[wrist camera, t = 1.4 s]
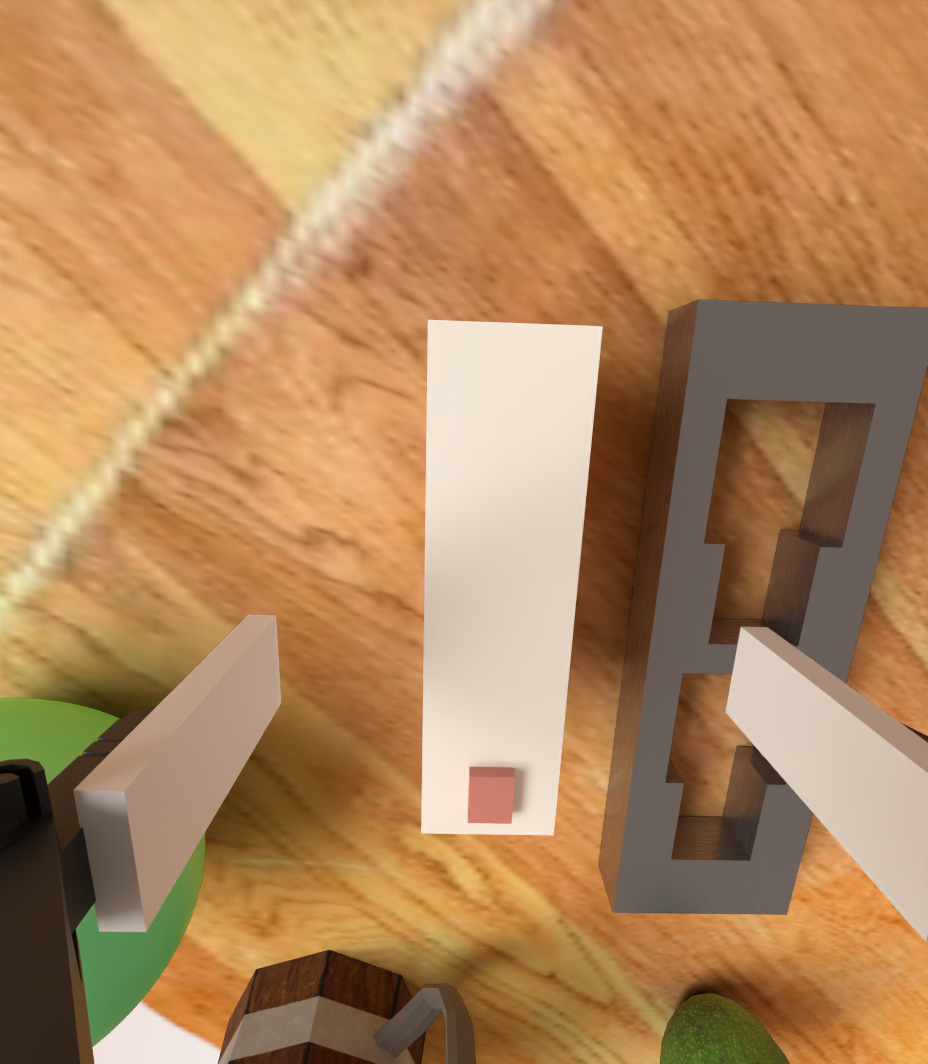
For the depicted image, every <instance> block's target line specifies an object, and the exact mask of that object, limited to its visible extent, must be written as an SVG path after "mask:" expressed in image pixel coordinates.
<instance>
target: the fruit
mask: <svg viewBox="0 0 928 1064" xmlns="http://www.w3.org/2000/svg"><path fill="white" fill-rule="evenodd" d="M660 1064H790V1063H789V1061H788V1060H787V1058H786V1056H785V1054H784V1053H783V1052H782V1050H781V1049H780V1048H779V1046H778V1045H777V1044H776V1042H775V1041H774V1040H773V1039H772V1037H771V1036H770V1035H769V1033H768V1032H767V1031H766V1029H765V1028H764V1027H763V1025H762V1024H761V1023H760V1022H759V1021H758V1020H757V1019H756V1018H755V1017H754V1016H753V1015H752V1014H751V1013H750V1012H749V1011H747V1010H746V1009H745V1008H744V1007H743V1006H741V1005H739V1004H738V1003H736V1002H734V1001H733V1000H731V999H729V998H726V997H723V996H720V995H717V994H714V993H706V994H699V995H693V996H691V997H690V998H689V999H687V1000H686V1001H685V1002H683V1003H682V1004H681V1005H679V1006H678V1007H677V1009H676V1011H675V1012H674V1014H673V1015H672V1017H671V1019H670V1020H669V1022H668V1024H667V1027H666V1030H665V1033H664V1036H663V1039H662V1043H661V1055H660Z"/></svg>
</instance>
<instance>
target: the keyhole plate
mask: <svg viewBox="0 0 928 1064" xmlns="http://www.w3.org/2000/svg"><path fill="white" fill-rule="evenodd" d="M927 366H928V308H909V307H883V306H856V305H830V304H804V303H777V302H751V301H725V300H696V301H694V302H691V303H689V304H686V305H684V306H681V307H679V308H676V309H674V310H671V311H669V313H668V321H667V329H666V337H665V344H664V352H663V360H662V368H661V376H660V384H659V392H658V400H657V407H656V415H655V423H654V431H653V439H652V447H651V455H650V463H649V470H648V478H647V486H646V494H645V502H644V510H643V518H642V525H641V533H640V541H639V549H638V557H637V565H636V573H635V581H634V588H633V596H632V604H631V612H630V620H629V628H628V636H627V644H626V651H625V659H624V667H623V675H622V683H621V691H620V699H619V707H618V714H617V722H616V730H615V738H614V746H613V754H612V762H611V770H610V777H609V785H608V793H607V801H606V809H605V817H604V825H603V833H602V840H601V848H600V856H599V864H598V866H599V869H600V872H601V876H602V879H603V882H604V886H605V889H606V892H607V895H608V899H609V902H610V905H611V909H612V912H613V913H693V914H776V915H787V912H788V908H789V904H790V900H791V896H792V893H793V889H794V885H795V881H796V877H797V873H798V869H799V865H800V861H801V857H802V854H803V850H804V846H805V842H806V838H807V834H808V830H809V826H810V822H811V818H812V814H813V812H812V811H811V810H810V809H809V808H808V806H807V805H806V804H805V803H804V802H803V801H802V800H801V798H800V797H799V796H798V795H797V794H796V793H795V792H794V790H793V789H792V788H791V787H790V786H789V785H788V783H787V782H786V781H785V780H784V779H783V778H782V777H781V775H780V774H779V773H778V772H777V771H776V770H775V769H774V767H773V766H772V765H771V764H770V763H769V762H768V761H767V759H766V758H765V757H764V756H763V755H762V754H761V752H760V751H759V750H758V749H757V748H756V747H755V746H754V747H740V746H737V748H736V753H735V758H734V763H733V768H732V773H731V778H730V783H729V788H728V793H727V798H726V803H725V808H724V813H723V817H693V816H679V810H680V804H681V799H682V793H683V787H684V782H683V780H682V779H681V777H680V775H679V774H678V772H677V770H676V768H675V767H674V765H673V763H672V762H671V760H670V758H669V756H670V750H671V744H672V738H673V731H674V725H675V719H676V713H677V707H678V700H679V694H680V688H681V682H682V676H683V673H690V674H732V673H733V668H734V662H735V656H736V651H737V645H738V640H739V634H740V628H741V627H768V628H769V629H770V630H772V631H773V632H775V633H776V634H777V635H779V636H780V637H782V638H783V639H784V640H786V641H787V642H788V643H790V644H791V645H793V646H794V647H795V648H797V649H798V650H800V651H801V652H802V653H804V654H805V655H807V656H808V657H809V658H811V659H812V660H814V661H815V662H816V663H818V664H819V665H820V666H822V667H823V668H825V669H826V670H827V671H829V672H830V673H832V674H833V675H834V676H836V677H837V678H839V679H840V680H841V681H843V682H844V683H846V682H847V678H848V674H849V670H850V666H851V662H852V658H853V654H854V651H855V647H856V643H857V639H858V635H859V631H860V627H861V623H862V619H863V615H864V612H865V608H866V604H867V600H868V596H869V592H870V588H871V584H872V580H873V576H874V573H875V569H876V565H877V561H878V557H879V553H880V549H881V545H882V541H883V537H884V534H885V530H886V526H887V522H888V518H889V514H890V510H891V506H892V502H893V498H894V494H895V491H896V487H897V483H898V479H899V475H900V471H901V467H902V463H903V459H904V455H905V452H906V448H907V444H908V440H909V436H910V432H911V428H912V424H913V420H914V416H915V413H916V409H917V405H918V401H919V397H920V393H921V389H922V385H923V381H924V377H925V373H926V370H927ZM727 399H731V400H761V401H790V402H820V403H826V406H825V411H824V416H823V421H822V425H821V430H820V435H819V440H818V444H817V449H816V454H815V459H814V463H813V468H812V473H811V478H810V482H809V487H808V492H807V497H806V501H805V506H804V511H803V515H802V520H801V525H800V530H799V531H787V530H780V533H779V538H778V543H777V548H776V553H775V558H774V563H773V568H772V573H771V578H770V583H769V588H768V593H767V598H766V603H765V608H764V613H763V618H762V620H753V619H713V614H714V608H715V602H716V596H717V591H718V585H719V579H720V573H721V567H722V562H723V556H724V550H725V544H724V543H722V542H720V541H718V540H716V539H715V538H713V537H711V536H709V535H707V534H706V527H707V521H708V515H709V508H710V502H711V496H712V490H713V484H714V477H715V471H716V465H717V459H718V453H719V446H720V440H721V434H722V428H723V422H724V415H725V409H726V403H727Z"/></svg>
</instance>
